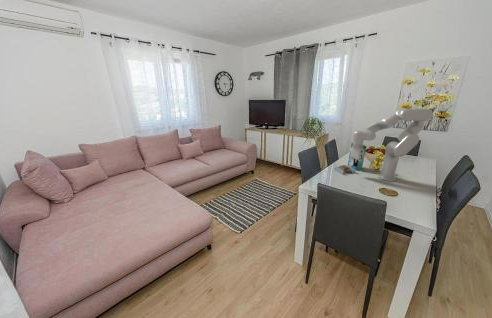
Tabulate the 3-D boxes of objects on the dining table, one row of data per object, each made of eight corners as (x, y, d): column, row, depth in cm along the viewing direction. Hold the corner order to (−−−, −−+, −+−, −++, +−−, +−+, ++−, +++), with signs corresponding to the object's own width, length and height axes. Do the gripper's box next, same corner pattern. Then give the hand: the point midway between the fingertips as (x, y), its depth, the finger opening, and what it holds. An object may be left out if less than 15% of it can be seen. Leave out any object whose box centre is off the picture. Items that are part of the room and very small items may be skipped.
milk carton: (362, 168, 187) (367, 143, 179) (355, 170, 184) (360, 144, 176) (354, 165, 195) (358, 141, 187) (347, 167, 192) (351, 142, 183)
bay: (346, 169, 186) (347, 165, 185) (354, 173, 177) (355, 169, 176) (334, 170, 183) (335, 166, 182) (342, 174, 174) (343, 170, 173)
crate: (344, 170, 185) (345, 165, 183) (348, 172, 179) (349, 167, 178) (338, 170, 183) (339, 165, 182) (343, 173, 178) (344, 167, 176)
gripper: (368, 147, 158) (365, 168, 163) (354, 143, 171) (352, 163, 177) (360, 148, 156) (358, 169, 162) (347, 144, 170) (345, 164, 175)
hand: (355, 166), depth 169 cm, fingers closed
